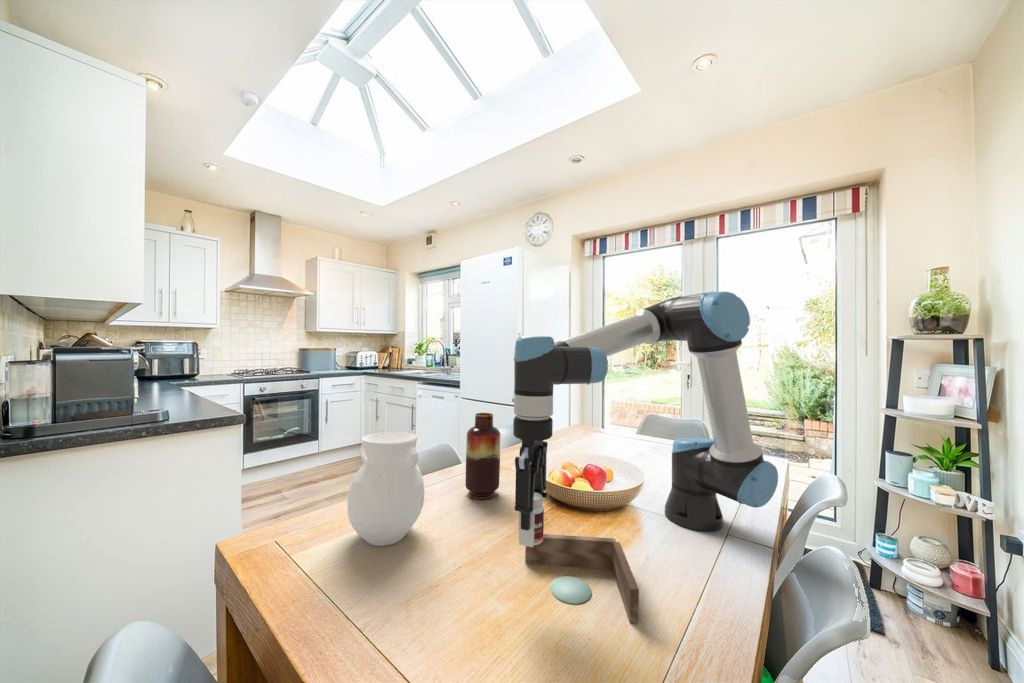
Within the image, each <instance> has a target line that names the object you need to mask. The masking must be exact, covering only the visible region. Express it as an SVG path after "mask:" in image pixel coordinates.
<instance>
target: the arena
mask: <svg viewBox="0 0 1024 683" xmlns="http://www.w3.org/2000/svg"><path fill="white" fill-rule="evenodd" d="M524 555H525V556H524V557H525V558H524V559H525V560H524V563H525V564H532V565H534V564H535V565H545V566H546V565H548V566H560V567H561V566H562V567H577V568H578V567H579V568H591V569H604V570H606V569H607V570H612V573H613V576H614V578H615V582H616V585H617V587H618V588H617V589H618V590H619V594H620V598H621V601H622V603H623V607H624V610H625V612H626V615H627V619H628V622H629V623H630V624H639V605H640V604H639V602H640V601H639V600H640V596H639V595H640V588H639V586H638V584H637V582H636V578H635V576H634V574H633V571H632V569H631V567H630V564H629V561H628V559H627V557H626V554H625V552H624V549H623V547H622V544H621V542H619V541H617V540H616V538H612V537H611V538H610V537H599V536H598V537H596V536H581V535H566V534H548V533H543V541H542V542H541V543H540V544H538V545H534V546H533V547H529V546H525V554H524Z"/></svg>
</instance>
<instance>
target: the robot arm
mask: <svg viewBox="0 0 1024 683" xmlns="http://www.w3.org/2000/svg"><path fill="white" fill-rule="evenodd" d="M750 316H751V315H750V313H749V309H748V307H747V306H746V303H745V302H744V301H743V299H742V298H741V297H739V296H737V294H735V293H733V292H729V291H710V292H704V293H703V292H702V293H696V294H690V295H684V296H674V297H671V298H668V299H665V300H663V301H660V302H658V303H655V304H653V305H650V306H648V307H644V308H642V309H640V310H637V311H636V312H635V313H634V315H633V316H630V317H627V318H623V319H621V320H618V321H615V322H613V323H609V324H607V325H606V324H605V325H603V326H600V327H598V328H597V327H596V328H594V329H592V330H589V331H585V332H583V333H582V332H581V333H580V334H579V333H578V334H577V335H574V336H571V337H567V338H565V339H562V340H560V341H555V339H554V338H553V337H552V336H541V335H540V336H539V335H537V336H536V335H522V336H519V337H518V338H517V339H516V340H515V347H514V355H513V356H514V357H513V362H514V364H513V365H514V370H513V371H514V373H513V374H514V384H513V385H514V387H513V388H514V389H513V397H512V398H511V401H512V402H511V403H513V414H515V416H514V418H513V426H512V427H513V429H512V431H513V432H512V433H513V436H514V437H515V438H516V439H519V440H520V441H521V447H520V448H519V456H515V458H514V465H515V497H514V499H515V501H514V502H515V503H514V505H515V506H514V510H515V512H520V514H518V515H519V518H518V520H519V521H518V545H521V546H523V547H524V546H525V547H526V546H529V547H533V546H534V522H535V510H533V501H534V492H537V493H539V494H541V495H542V505H543V506H544V502H543V501H544V500H543V498H545V499H547V496H548V493H547V492H545V491H546V490H547V457H548V456H547V455H548V441H546V440H549V439H551V438H552V437H553V425H554V424H553V419H552V417H551V416H553V414H554V385H555V386H556V385H590V384H591V385H592V384H597V383H601V382H602V381H604V379H605V378H606V377H607V375H608V370H609V361H608V357H610V356H612V355H615V354H618V353H620V352H623V351H626V350H629V349H631V348H633V347H636V346H640V345H642V344H645V345H653V344H656V343H658V342H666V341H667V342H668V341H669V342H670V341H680V342H686V343H687V347H688V348H687V349H688V351H689V353H691V354H692V355H694V356H696V358H697V363H698V367H699V374H700V378H701V384H702V387H703V394H704V398H705V399H704V400H705V404H706V408H707V413H708V419H709V425H710V429H711V433H712V438H707V437H679V438H676V439H674V441H673V443H672V450H671V489H670V491H669V493H668V496H667V499H666V501H665V504H664V515H665V518H667V519H668V520H669V521H671V522H672V523H674V524H675V525H678V526H681V527H682V528H687V529H690V530H695V531H701V532H714V531H715V532H716V531H718V530H721V529H722V528H723V525H724V516H723V513H722V512H723V511H722V509H721V506H720V504H719V500H718V497H717V494H718V495H720V496H723V497H725V498H728V499H729V500H732V501H734V502H737V503H738V504H739V505H745V506H748V507H751V508H761V507H763V506H766V504H768V503H769V502H770V501H771V499H772V498H773V497H774V495H775V492H776V489H777V486H778V484H779V483H778V482H779V473H778V469H777V467H776V465H774V464H773V463H771V462H770V461H767V460H765V459H764V454H763V450H762V448H761V447H760V446H759V445H758V444H757V443H755V442H754V441H753V435H752V431H751V429H752V428H751V425H750V418H749V414H748V408H747V407H748V406H747V403H746V396H745V393H744V387H743V381H742V376H741V372H740V365H739V360H738V355H737V351H738V350H739V348H740V347H741V346H742V345H743V342H742V339H744V338H745V337H746V336H747V334H748V332H749V331H750V330H749V329H750V328H749V326H750V325H751V320H750V319H751V317H750Z"/></svg>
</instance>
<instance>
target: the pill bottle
mask: <svg viewBox="0 0 1024 683" xmlns="http://www.w3.org/2000/svg"><path fill="white" fill-rule="evenodd" d="M542 499H543V497H542V495H541V494H539V493H537V492H534V501H533V510H535V522H534V545H538V544H540V543H541V542H542V541H543V534H544V528H545V526H544V524H545V523H544V522H545V521H544V520H545V517H544V516H545V508H544V504H543V505H542ZM518 512H519V511H518ZM519 514H520V512H519ZM519 514H518V515H519Z"/></svg>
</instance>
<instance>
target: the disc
mask: <svg viewBox="0 0 1024 683" xmlns="http://www.w3.org/2000/svg"><path fill="white" fill-rule="evenodd" d="M550 591H551V594H552V596H554V598H556V599H557V600H559V601H560V602H563V603H566V604H568V605H580V604H583V603H586V602H587V601H589V599H590V598H591V597H592V589H591V587H590V586H589V584H588V583H587V582H586V581H584V580H583V579H581V578H579V577H575V576H569V575H568V576H567V575H566V576H560V577H557V578H555V579H554V580H553V581H552V582H551V585H550Z"/></svg>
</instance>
